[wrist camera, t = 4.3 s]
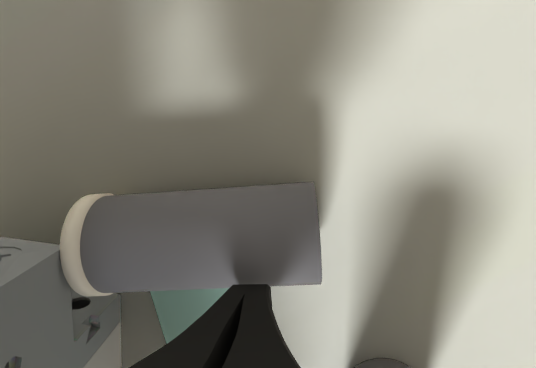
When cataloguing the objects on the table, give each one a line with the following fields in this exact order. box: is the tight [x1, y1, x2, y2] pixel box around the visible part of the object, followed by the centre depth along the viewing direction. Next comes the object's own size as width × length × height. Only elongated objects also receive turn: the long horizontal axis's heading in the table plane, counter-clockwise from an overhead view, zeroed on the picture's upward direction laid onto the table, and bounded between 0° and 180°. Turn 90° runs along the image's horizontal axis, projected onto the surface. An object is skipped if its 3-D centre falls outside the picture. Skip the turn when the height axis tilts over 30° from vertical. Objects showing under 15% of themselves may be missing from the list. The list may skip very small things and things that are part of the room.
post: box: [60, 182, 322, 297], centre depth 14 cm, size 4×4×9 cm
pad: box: [150, 288, 229, 344], centre depth 17 cm, size 9×5×1 cm, turn 12°
